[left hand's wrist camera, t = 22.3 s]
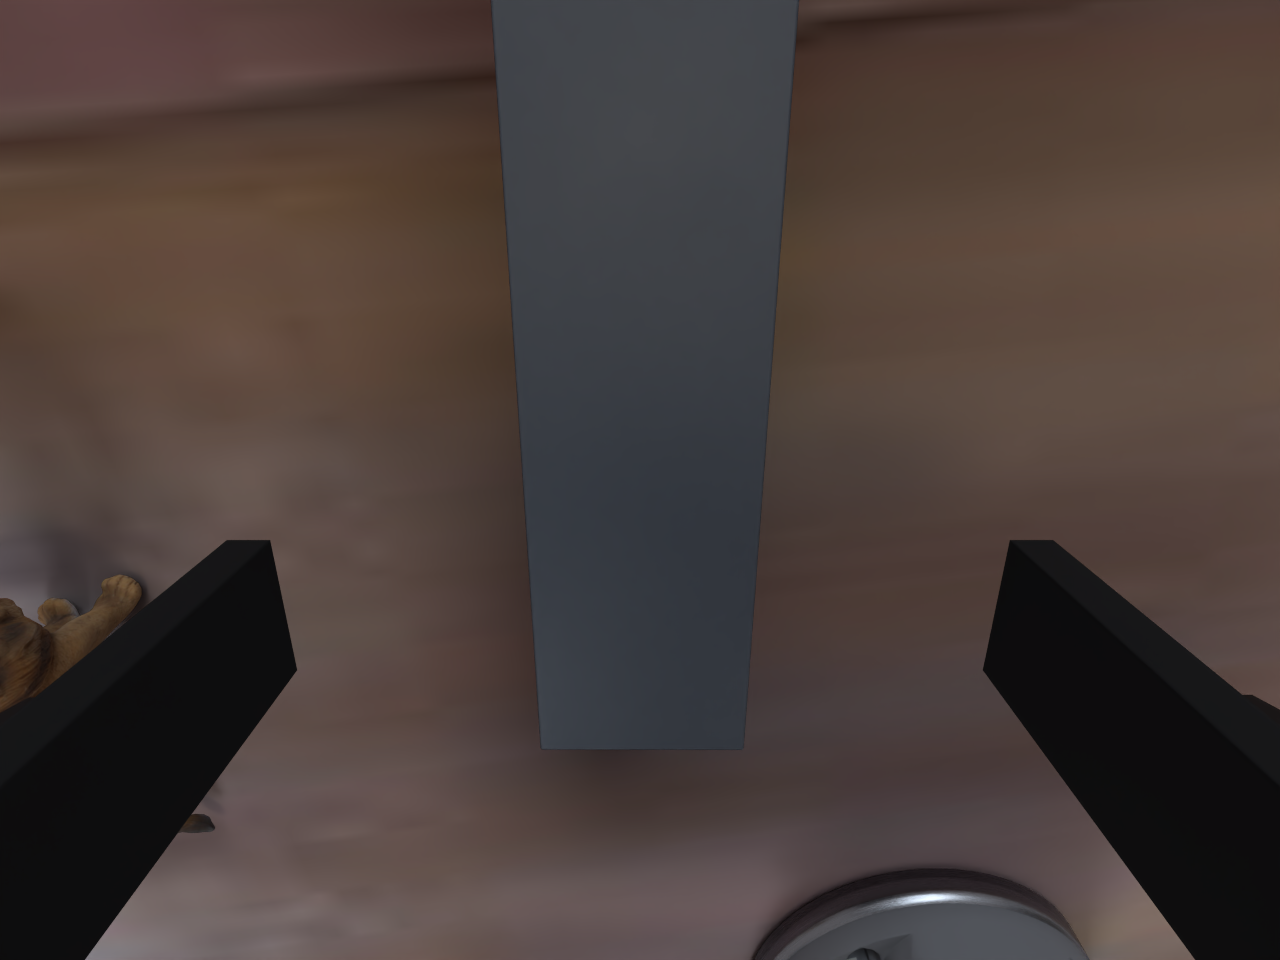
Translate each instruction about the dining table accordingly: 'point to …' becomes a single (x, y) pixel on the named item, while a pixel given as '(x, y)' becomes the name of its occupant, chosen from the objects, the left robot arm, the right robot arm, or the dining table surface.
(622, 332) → the post
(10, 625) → the lion figurine
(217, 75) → the dining table surface
